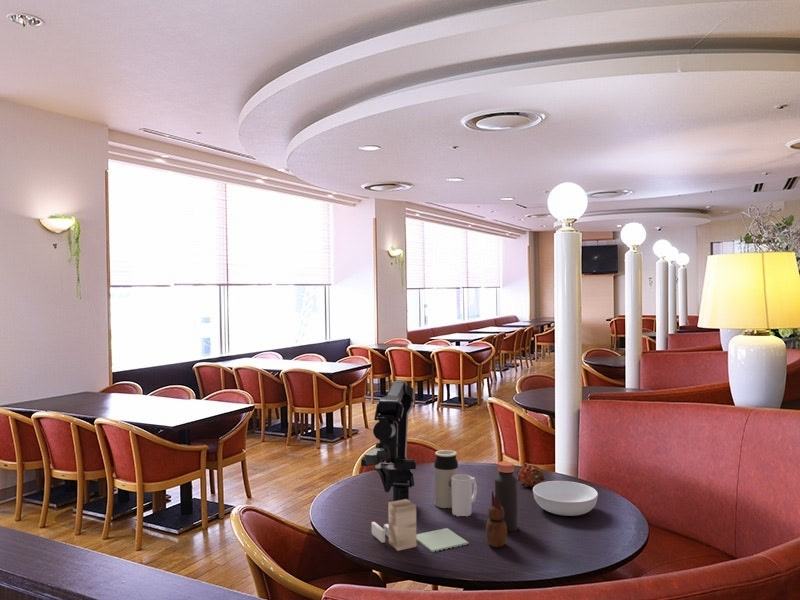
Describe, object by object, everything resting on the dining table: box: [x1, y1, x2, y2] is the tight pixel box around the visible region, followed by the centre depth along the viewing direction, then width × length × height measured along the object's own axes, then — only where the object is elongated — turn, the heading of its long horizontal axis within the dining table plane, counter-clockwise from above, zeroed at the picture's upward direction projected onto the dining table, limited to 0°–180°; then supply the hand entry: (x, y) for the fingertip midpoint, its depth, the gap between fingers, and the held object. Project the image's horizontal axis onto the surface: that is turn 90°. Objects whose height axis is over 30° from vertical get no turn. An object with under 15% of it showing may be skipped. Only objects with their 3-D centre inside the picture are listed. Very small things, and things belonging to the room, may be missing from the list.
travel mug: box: [433, 449, 459, 509], centre depth 213 cm, size 8×8×18 cm
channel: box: [371, 521, 386, 544], centre depth 187 cm, size 8×10×4 cm
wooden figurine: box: [485, 491, 508, 548], centre depth 180 cm, size 7×6×15 cm
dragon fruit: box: [516, 464, 546, 489], centre depth 232 cm, size 8×8×12 cm
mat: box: [416, 527, 469, 553], centre depth 183 cm, size 12×12×1 cm
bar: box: [383, 523, 389, 538], centre depth 186 cm, size 7×3×3 cm, turn 27°
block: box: [387, 499, 418, 552], centre depth 180 cm, size 6×6×12 cm
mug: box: [451, 473, 478, 517], centre depth 206 cm, size 10×7×12 cm, turn 125°
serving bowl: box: [532, 480, 599, 517], centre depth 206 cm, size 21×21×7 cm
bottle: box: [494, 460, 518, 533], centre depth 192 cm, size 7×7×20 cm
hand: (387, 492), depth 191 cm, fingers closed
